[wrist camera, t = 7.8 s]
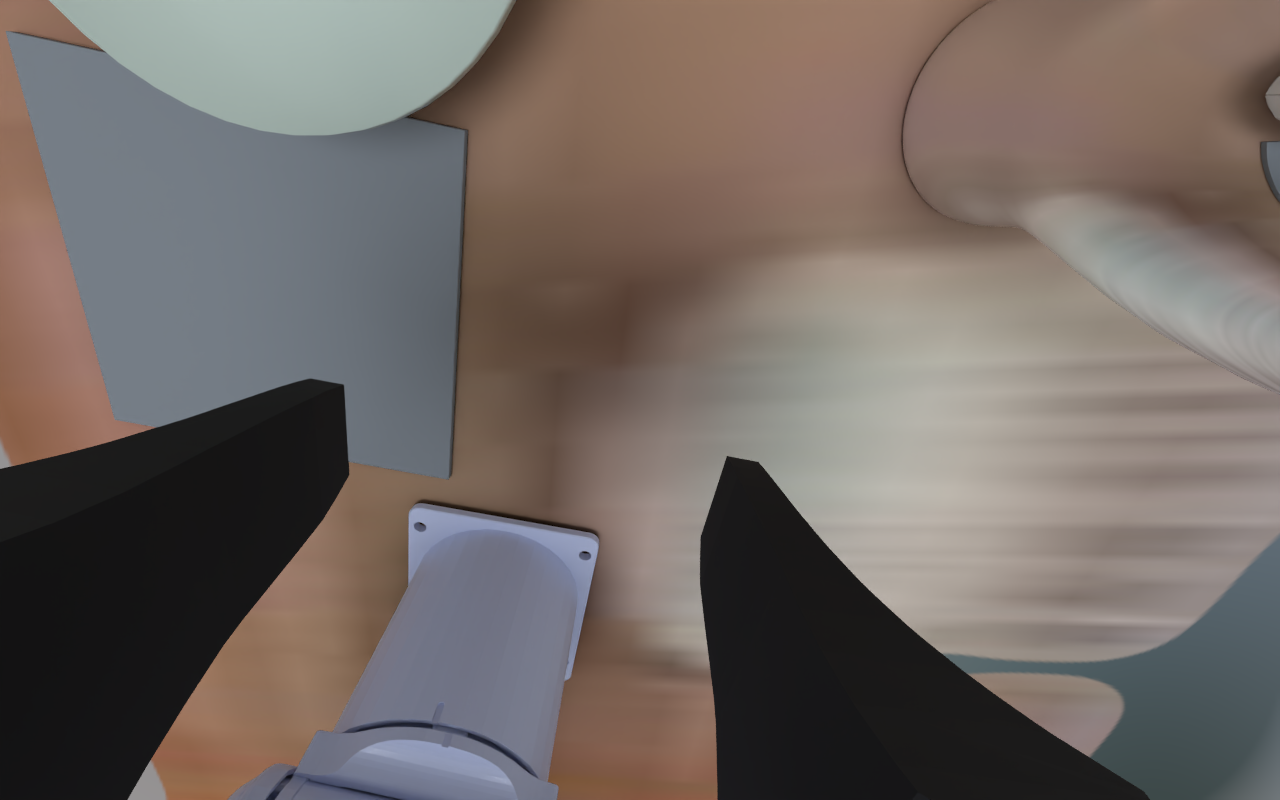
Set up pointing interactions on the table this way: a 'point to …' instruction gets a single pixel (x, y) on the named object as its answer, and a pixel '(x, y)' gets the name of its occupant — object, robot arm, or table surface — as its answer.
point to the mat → (255, 254)
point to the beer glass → (1122, 155)
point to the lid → (295, 55)
